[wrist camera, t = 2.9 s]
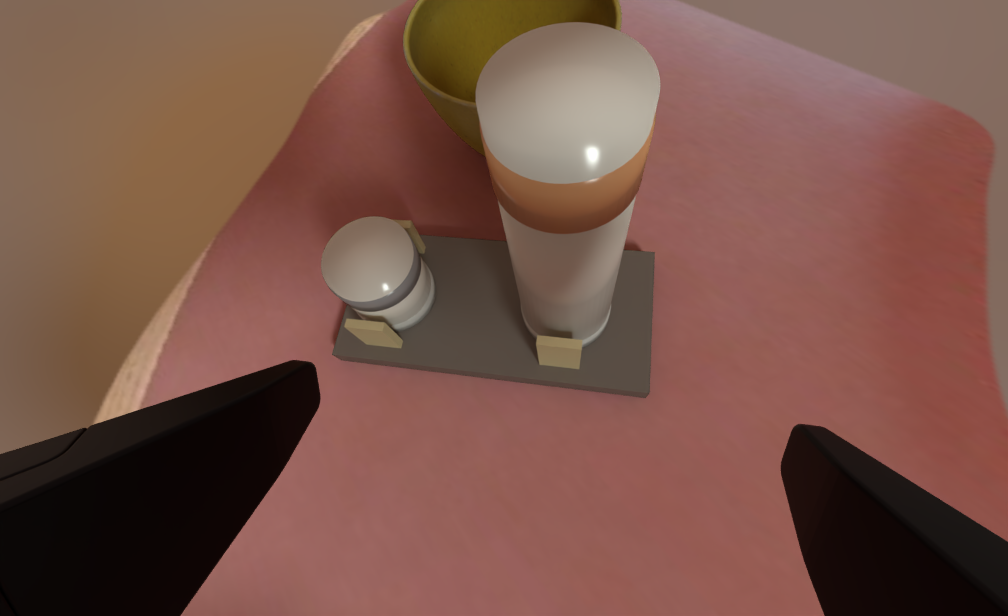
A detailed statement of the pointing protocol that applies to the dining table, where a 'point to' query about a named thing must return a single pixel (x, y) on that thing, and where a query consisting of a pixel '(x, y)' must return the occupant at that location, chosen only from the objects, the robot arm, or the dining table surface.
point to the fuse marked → (567, 165)
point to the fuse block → (508, 325)
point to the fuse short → (379, 272)
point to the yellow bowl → (479, 46)
